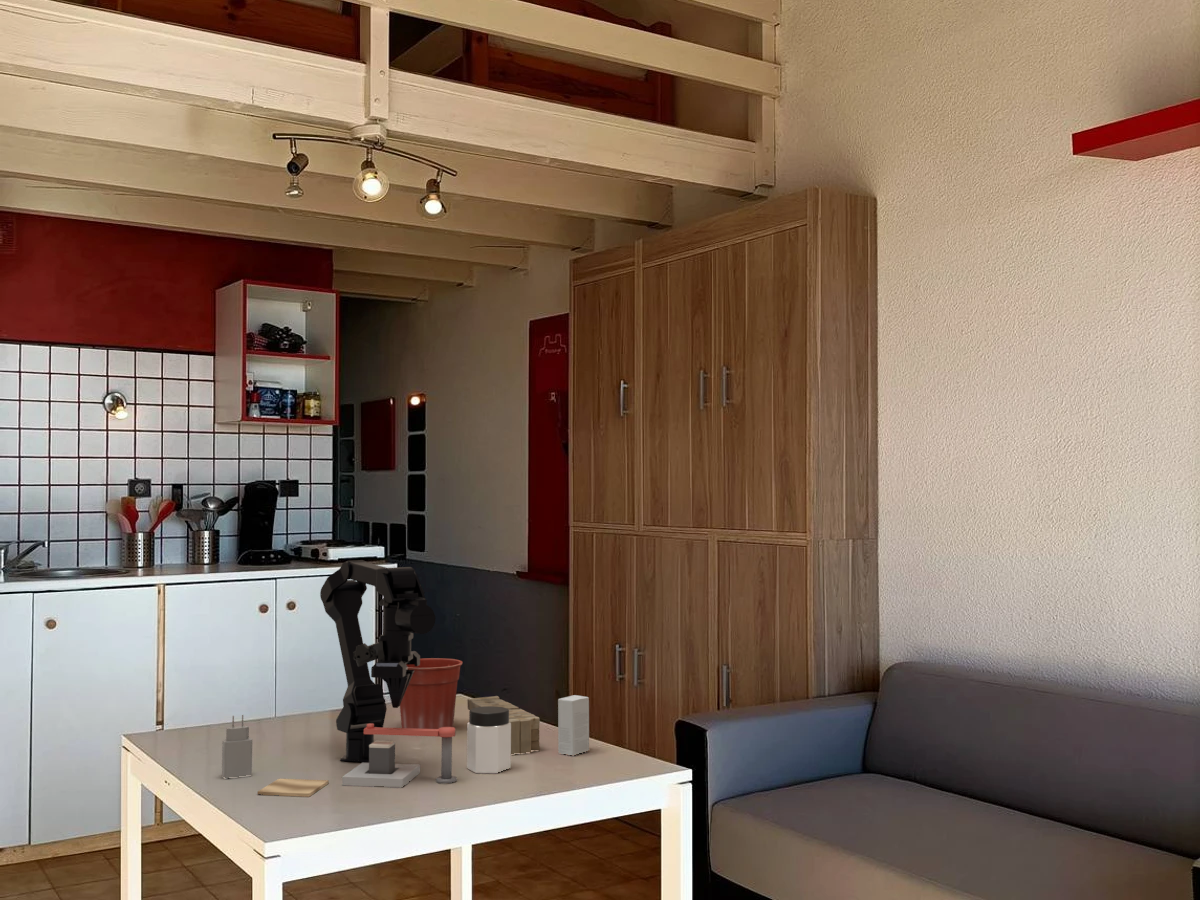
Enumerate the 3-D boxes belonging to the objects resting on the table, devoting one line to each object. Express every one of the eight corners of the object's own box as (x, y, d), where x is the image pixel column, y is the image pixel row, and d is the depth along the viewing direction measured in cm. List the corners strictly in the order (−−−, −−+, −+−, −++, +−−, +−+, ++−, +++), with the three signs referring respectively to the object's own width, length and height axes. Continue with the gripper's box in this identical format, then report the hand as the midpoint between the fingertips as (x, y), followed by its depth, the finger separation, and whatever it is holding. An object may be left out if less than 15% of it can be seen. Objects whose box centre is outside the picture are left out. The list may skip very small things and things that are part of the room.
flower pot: (377, 732, 268) (378, 663, 268) (425, 721, 281) (426, 656, 282) (428, 740, 258) (429, 669, 259) (476, 729, 272) (476, 661, 272)
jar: (512, 764, 235) (512, 706, 236) (508, 773, 227) (509, 713, 228) (469, 764, 235) (469, 706, 236) (464, 773, 227) (464, 713, 228)
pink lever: (456, 734, 223) (456, 724, 223) (452, 737, 220) (452, 728, 220) (367, 731, 225) (368, 722, 225) (362, 734, 222) (362, 725, 222)
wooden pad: (279, 781, 220) (279, 778, 220) (328, 783, 219) (328, 780, 219) (257, 794, 210) (257, 791, 210) (309, 796, 209) (309, 793, 209)
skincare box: (574, 749, 250) (574, 694, 250) (589, 752, 247) (589, 696, 248) (557, 754, 245) (557, 698, 246) (572, 757, 242) (573, 700, 243)
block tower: (541, 758, 246) (497, 728, 273) (542, 719, 247) (498, 693, 273) (507, 761, 243) (466, 731, 270) (508, 721, 243) (467, 695, 270)
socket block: (362, 770, 229) (363, 727, 230) (463, 774, 227) (464, 730, 227) (341, 785, 217) (342, 740, 218) (448, 789, 215) (449, 743, 215)
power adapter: (220, 776, 224) (222, 715, 224) (248, 773, 227) (249, 712, 227) (224, 779, 221) (225, 717, 222) (252, 776, 224) (253, 715, 225)
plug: (375, 776, 225) (375, 740, 225) (394, 776, 224) (395, 741, 225) (368, 781, 221) (369, 745, 221) (388, 781, 220) (389, 745, 221)
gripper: (368, 624, 239) (367, 698, 238) (345, 634, 220) (344, 715, 219) (421, 624, 238) (420, 699, 238) (402, 635, 220) (401, 716, 219)
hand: (396, 707), depth 228 cm, fingers closed
